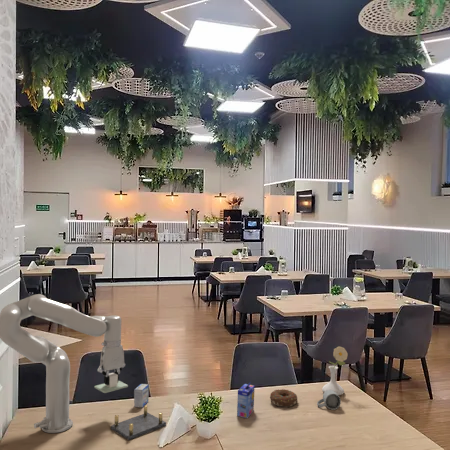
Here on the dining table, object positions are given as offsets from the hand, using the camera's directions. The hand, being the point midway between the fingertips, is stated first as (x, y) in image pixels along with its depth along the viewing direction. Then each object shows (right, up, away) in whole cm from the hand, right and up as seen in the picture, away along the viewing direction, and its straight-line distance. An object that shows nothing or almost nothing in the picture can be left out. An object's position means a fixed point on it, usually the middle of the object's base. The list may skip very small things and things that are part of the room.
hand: (111, 382), depth 200 cm
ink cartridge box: (+62, -16, +5) cm, 64 cm away
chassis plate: (+14, -16, -10) cm, 23 cm away
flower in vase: (+110, -17, +31) cm, 115 cm away
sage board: (0, -2, 0) cm, 2 cm away
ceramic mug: (+103, -17, +14) cm, 105 cm away
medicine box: (+11, -16, +15) cm, 25 cm away
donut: (+81, -17, +18) cm, 85 cm away
